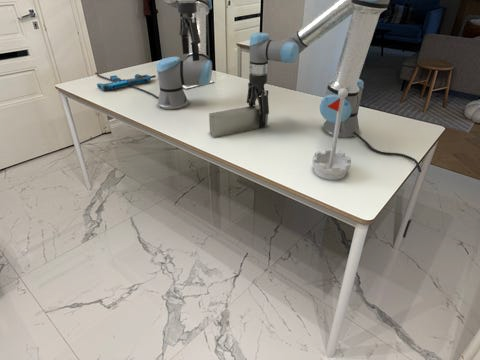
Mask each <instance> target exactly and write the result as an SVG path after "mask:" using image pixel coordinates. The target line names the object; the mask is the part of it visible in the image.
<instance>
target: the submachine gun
mask: <svg viewBox="0 0 480 360" xmlns="http://www.w3.org/2000/svg"><path fill="white" fill-rule="evenodd" d="M155 78H157V75H156V74H154V75H149V74H143V75H142V74H140V73H137V74H135V75H134V78H128V79H127V78H125V79H121V77H118V75H116V74H115V75H110V76H109V79H112V81H110V82H105V83H100V82H99V83H96V87H97V88H99V89H100V90H101V91H103V92H104V91H109V90H111V91H112V90H114V91H116V90H117V89H119V88H123V87H129V86H128V85H131V86H134V85H138V84H141V83H148V82H150V81H151V80H152V79H155Z"/></svg>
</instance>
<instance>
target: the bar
mask: <svg viewBox="0 0 480 360" xmlns="http://www.w3.org/2000/svg"><path fill="white" fill-rule="evenodd" d="M262 112H263V111H262ZM259 114H261V113H260V108H259V104H256V105H253V106H249V105H248V106H242V107H237V108H231V109H226V110H219V111H213V112H209V113H208V120H209V134H210V135H211V136H212V137H213V138H218V137H223V136H228V135H229V136H230V135H233V134H238V133H243V132H247V131H248V132H249V131H253V130H258V129H260V128H259ZM268 125H269V114H266V120H265V128H267V127H268Z"/></svg>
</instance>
